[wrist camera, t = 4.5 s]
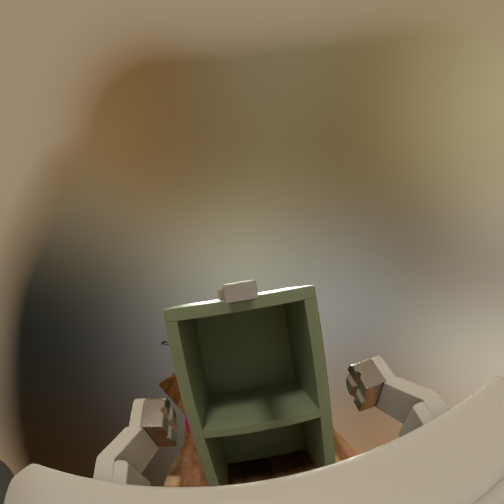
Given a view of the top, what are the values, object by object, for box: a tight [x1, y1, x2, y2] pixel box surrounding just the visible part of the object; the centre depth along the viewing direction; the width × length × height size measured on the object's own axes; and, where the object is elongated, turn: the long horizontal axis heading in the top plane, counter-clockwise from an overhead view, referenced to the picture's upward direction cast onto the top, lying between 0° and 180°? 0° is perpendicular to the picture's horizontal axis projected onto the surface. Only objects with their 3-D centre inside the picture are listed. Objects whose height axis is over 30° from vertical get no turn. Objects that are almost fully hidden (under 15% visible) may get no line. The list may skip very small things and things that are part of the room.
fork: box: [217, 280, 259, 304], centre depth 25 cm, size 18×4×1 cm, turn 4°
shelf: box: [163, 285, 335, 486], centre depth 29 cm, size 14×12×25 cm
